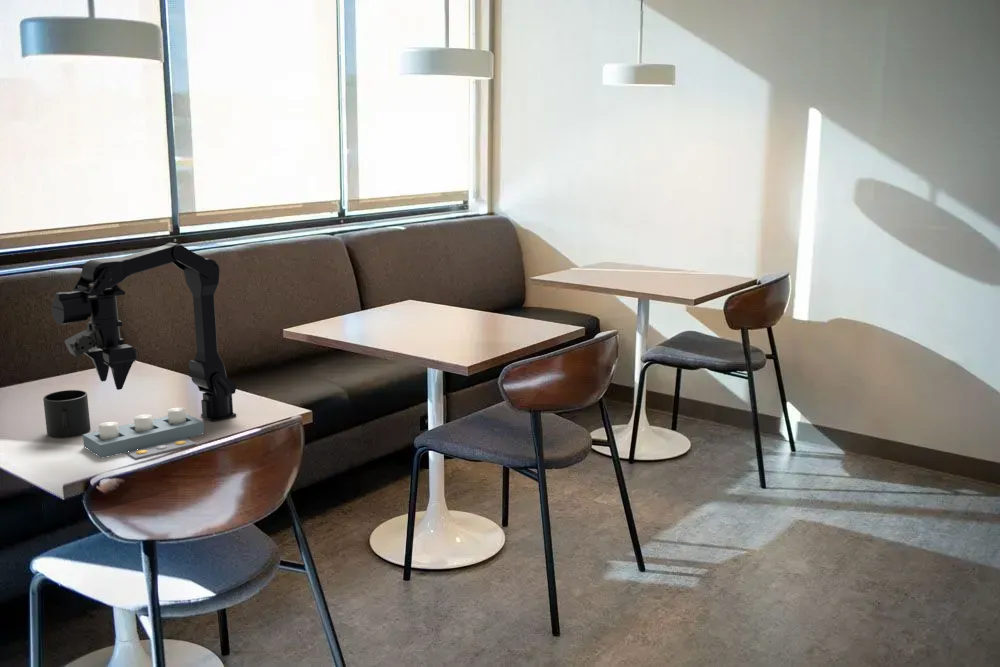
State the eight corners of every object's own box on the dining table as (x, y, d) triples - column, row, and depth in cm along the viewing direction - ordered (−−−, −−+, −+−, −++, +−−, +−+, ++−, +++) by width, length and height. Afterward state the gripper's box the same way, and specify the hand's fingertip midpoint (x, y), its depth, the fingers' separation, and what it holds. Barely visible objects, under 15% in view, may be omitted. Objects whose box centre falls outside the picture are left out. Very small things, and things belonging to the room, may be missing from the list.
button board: (184, 424, 236) (183, 412, 235) (204, 433, 229) (203, 421, 228) (84, 447, 220) (82, 434, 219) (101, 458, 212) (100, 445, 212)
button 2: (181, 420, 232) (180, 406, 231) (189, 424, 229) (188, 409, 228) (165, 424, 229) (164, 409, 228) (173, 428, 226) (172, 413, 225)
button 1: (115, 435, 221) (113, 420, 220) (122, 440, 218) (120, 424, 217) (97, 439, 218) (95, 424, 217) (104, 444, 215) (103, 428, 215)
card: (185, 439, 224) (185, 437, 224) (196, 444, 221) (195, 442, 221) (126, 453, 215) (125, 451, 215) (135, 459, 212) (135, 457, 211)
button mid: (149, 428, 226) (147, 413, 226) (156, 432, 224) (155, 417, 223) (132, 431, 224) (131, 416, 223) (139, 436, 221) (138, 420, 220)
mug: (44, 444, 222) (39, 405, 220) (49, 428, 233) (45, 391, 231) (88, 439, 225) (85, 401, 223) (91, 424, 236) (88, 388, 234)
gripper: (51, 316, 217) (59, 383, 220) (82, 329, 203) (90, 401, 207) (102, 309, 224) (109, 374, 228) (135, 321, 211) (141, 391, 214)
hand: (111, 385), depth 219 cm, fingers open, 9 cm apart
